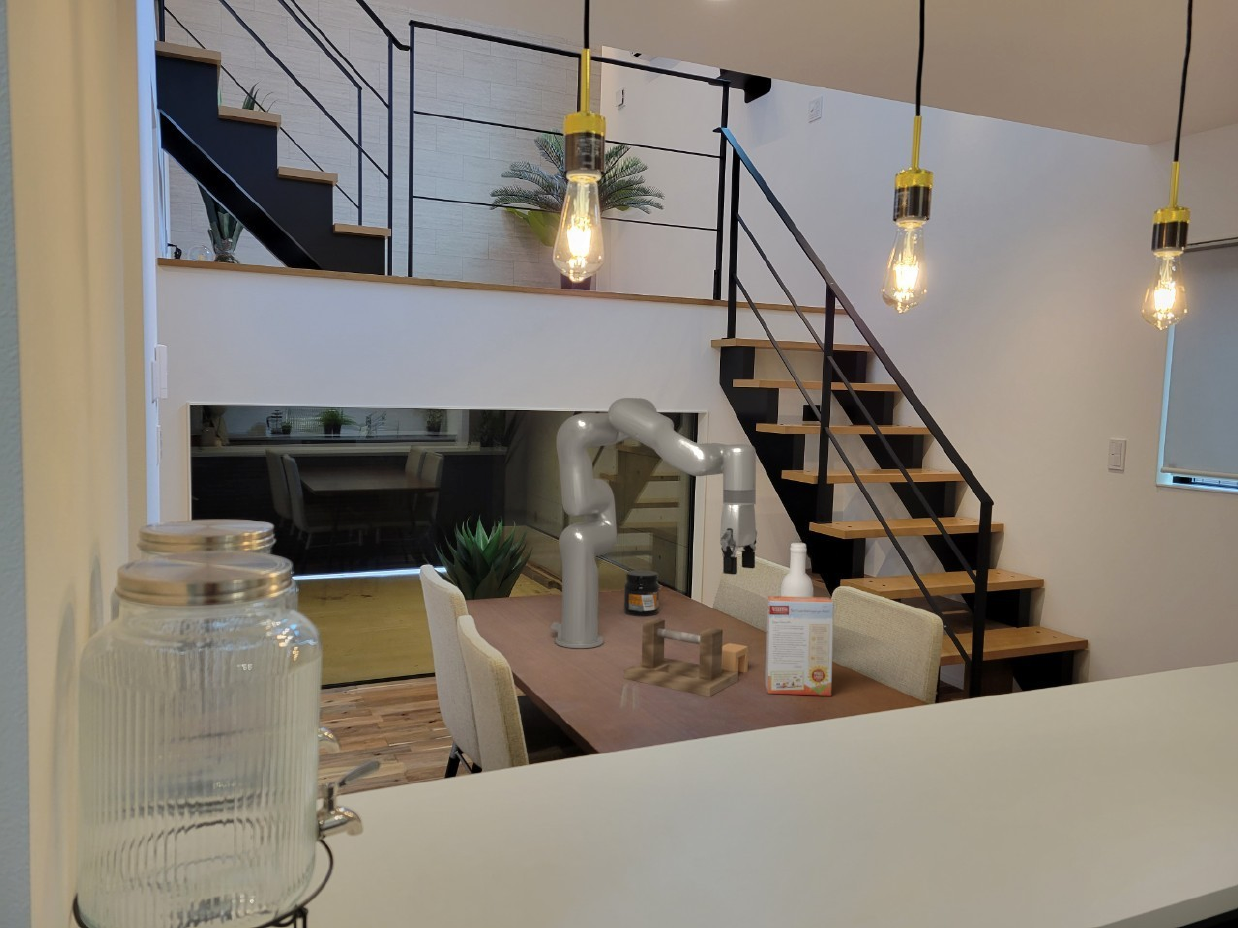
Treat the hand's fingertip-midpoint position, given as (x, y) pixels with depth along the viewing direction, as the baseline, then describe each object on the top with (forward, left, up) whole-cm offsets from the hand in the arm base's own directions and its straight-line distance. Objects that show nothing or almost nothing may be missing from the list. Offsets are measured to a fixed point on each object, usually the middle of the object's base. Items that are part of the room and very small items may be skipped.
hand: (739, 570), depth 213 cm
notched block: (-1, 0, -24) cm, 24 cm away
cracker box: (+17, -4, -25) cm, 30 cm away
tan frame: (-8, -12, -24) cm, 28 cm away
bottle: (+9, +14, -25) cm, 30 cm away
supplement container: (-50, +39, -25) cm, 68 cm away
